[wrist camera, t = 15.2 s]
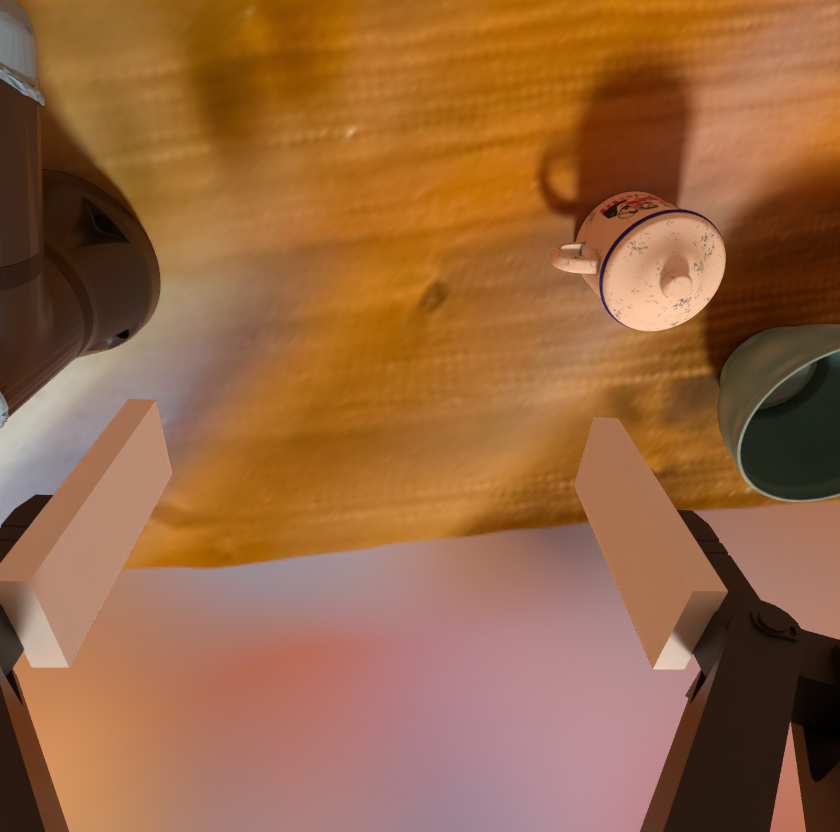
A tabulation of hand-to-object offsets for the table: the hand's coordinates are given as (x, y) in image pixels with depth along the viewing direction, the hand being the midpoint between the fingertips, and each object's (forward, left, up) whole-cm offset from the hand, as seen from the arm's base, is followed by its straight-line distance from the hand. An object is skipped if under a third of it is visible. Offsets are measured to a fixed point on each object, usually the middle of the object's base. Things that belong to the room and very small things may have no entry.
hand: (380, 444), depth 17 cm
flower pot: (+38, -10, -34) cm, 53 cm away
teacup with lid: (+18, 0, -34) cm, 39 cm away
